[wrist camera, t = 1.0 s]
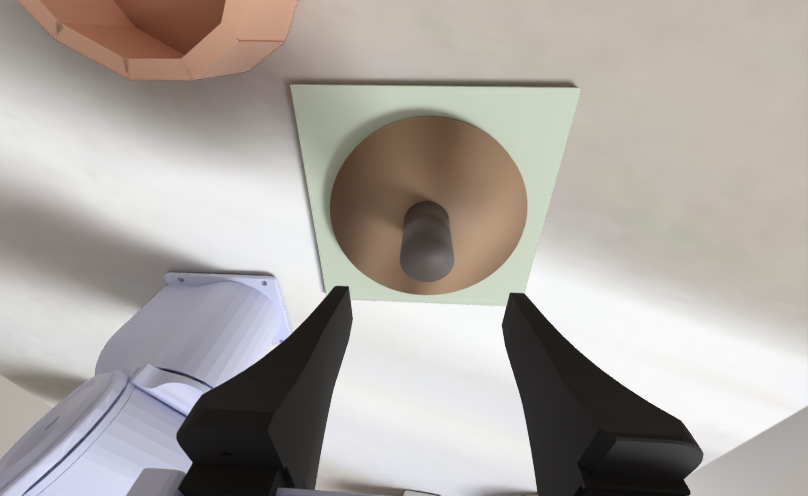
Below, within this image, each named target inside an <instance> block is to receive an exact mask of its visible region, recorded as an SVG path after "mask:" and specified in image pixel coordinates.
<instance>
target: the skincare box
mask: <svg viewBox="0 0 808 496" xmlns="http://www.w3.org/2000/svg"><path fill="white" fill-rule="evenodd" d="M402 496H436V495H431V494H426V493H420V492H414V491H409V490H407V491H405V492H404V493H403V495H402Z"/></svg>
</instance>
